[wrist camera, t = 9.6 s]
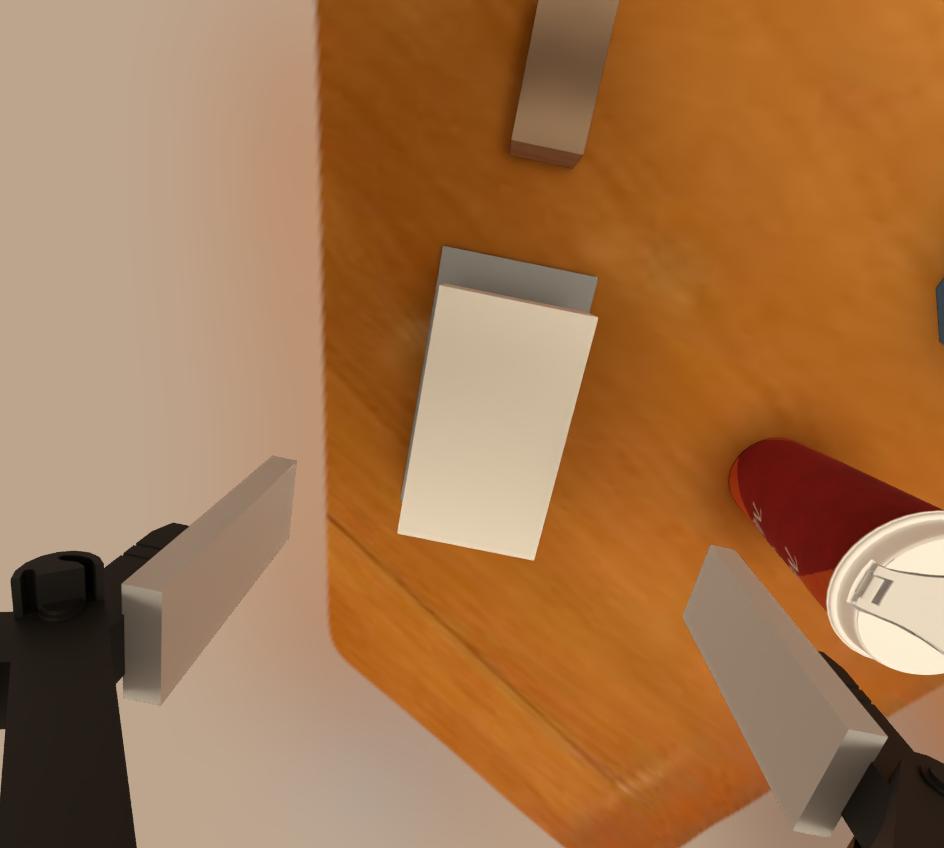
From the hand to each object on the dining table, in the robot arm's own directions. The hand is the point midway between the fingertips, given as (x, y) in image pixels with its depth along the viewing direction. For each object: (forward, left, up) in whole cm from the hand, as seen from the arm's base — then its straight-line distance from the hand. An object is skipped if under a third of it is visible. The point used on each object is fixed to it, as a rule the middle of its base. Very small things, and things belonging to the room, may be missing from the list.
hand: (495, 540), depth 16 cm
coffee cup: (+2, +21, -21) cm, 30 cm away
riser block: (-19, 0, -21) cm, 28 cm away
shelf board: (0, 0, -15) cm, 15 cm away
